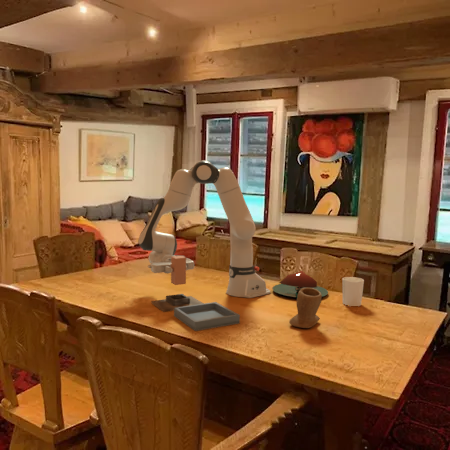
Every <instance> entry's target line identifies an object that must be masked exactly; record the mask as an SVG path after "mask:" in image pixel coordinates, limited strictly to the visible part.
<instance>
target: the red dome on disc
mask: <svg viewBox="0 0 450 450" xmlns="http://www.w3.org/2000/svg"><path fill="white" fill-rule="evenodd" d="M278 283H279V284H275V285H273V287H272V290H273V292H274V293H276V294H279V295H283V296H287V297H293V298H297V296H298V292H299V291H300V290H301V289H302V288H313V289H316V290H318V291H319V292H320V293H321V295H322V297H325V296H327V295H328V294H329V291H328V290H327V289H326V288H324V287H322V286H318V282H317V281H316V280H315V279H314V278H313V277H312V276H310V275H308V274H307V273H305V271H304V270H300V271H297V272H294V273H290V274H287V275H286V276H285V277H284V279H282V280H281V281H279V282H278Z"/></svg>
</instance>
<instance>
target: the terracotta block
mask: <svg viewBox="0 0 450 450" xmlns="http://www.w3.org/2000/svg"><path fill="white" fill-rule="evenodd" d="M183 256H184V255H178V256H173V257H171V267H173V268H174V272H171V273H170V283H171V284H172V285H175V286H180V285H186V284H187V270H186V258H187V257H186V256H185V257H183Z"/></svg>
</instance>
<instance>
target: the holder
mask: <svg viewBox="0 0 450 450" xmlns="http://www.w3.org/2000/svg"><path fill="white" fill-rule="evenodd" d="M150 302H151V304H152V305H153V306H154V307H156V308H157V309H158V310H160V311H162V313H164V312H172V311H174V308H176V307H183V306H190V305H198V304H205V303H204V302H203V301H200V300H199V299H197V298H195V297H193V295H188V296H187V295H185V294H184V293H178V294H169V295H166V296H165V299H156V300H151V301H150Z"/></svg>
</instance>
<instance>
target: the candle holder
mask: <svg viewBox="0 0 450 450" xmlns="http://www.w3.org/2000/svg"><path fill="white" fill-rule="evenodd" d="M364 284H365V280H364V278H361V277H355V276H345V277H342V304H343V305H344V304H345V305H344V306H346V305H349V306H348V307H351V306H358V307H361V306H362V299H363V293H364V292H363V291H364Z"/></svg>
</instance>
